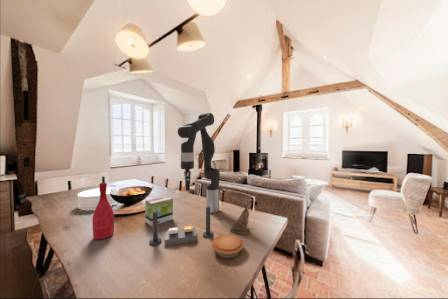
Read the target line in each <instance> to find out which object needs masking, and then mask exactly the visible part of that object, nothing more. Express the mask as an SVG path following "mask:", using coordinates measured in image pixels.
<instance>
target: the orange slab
mask: <svg viewBox="0 0 448 299" xmlns="http://www.w3.org/2000/svg"><path fill="white" fill-rule="evenodd" d="M193 228H194V227H193V225H186V226H183V229H184V232H189V231H193Z"/></svg>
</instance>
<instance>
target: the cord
mask: <svg viewBox="0 0 448 299" xmlns="http://www.w3.org/2000/svg"><path fill="white" fill-rule="evenodd" d="M158 226H159V224H158V212H157V211H154V212H153V226H152V238H151V239H150V240H149V241H148V244H149V246H152V247H155V246H159V245H160V244H161V243H162V238H161V237H159V236H158V235H159V232H158V231H159V227H158Z"/></svg>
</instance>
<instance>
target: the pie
mask: <svg viewBox="0 0 448 299" xmlns="http://www.w3.org/2000/svg"><path fill="white" fill-rule="evenodd" d="M211 246H212V249H213V250H214V251H215V253H216V254H217V255H218V256H219V257H220V258H225V259H232V258H235V257H237V256H238V255H239V254H240V252H241V251H242V250H243V249H244V241H243V240H242V239H241V238H240V237H238V236H236V235H234V234H222V235H218V236H216V237H214V239H213V240H212V242H211Z"/></svg>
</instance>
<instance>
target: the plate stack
mask: <svg viewBox="0 0 448 299" xmlns="http://www.w3.org/2000/svg"><path fill="white" fill-rule="evenodd" d="M106 188H107V190H106V196H107V200H108V202H109V204H113V203H115V201H114V200H113V199H112V197H111V196H110V192H111V189H112V188H115V189H117V191H118V190H120V189H119V188H118V187H112V186H111V187H106ZM99 190H100V187H98V188H92V189H87V190H83V191H81V192H79V193H77V209H78V208H79V209H82V210H93V211H95V210H94V209H96V207H97V205H98V203H99V200H100V191H99ZM118 192H119V191H118Z"/></svg>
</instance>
